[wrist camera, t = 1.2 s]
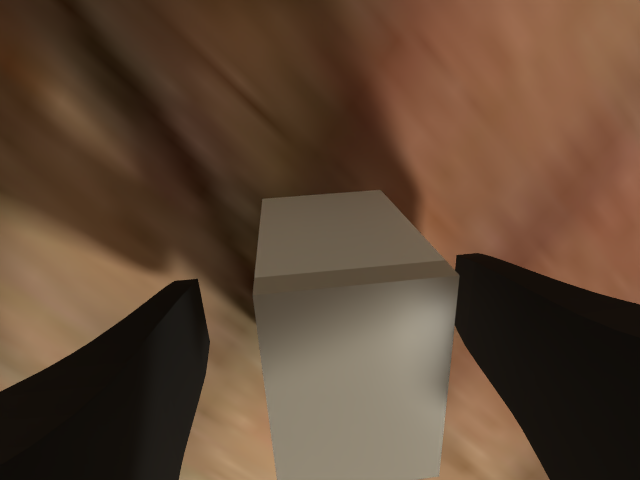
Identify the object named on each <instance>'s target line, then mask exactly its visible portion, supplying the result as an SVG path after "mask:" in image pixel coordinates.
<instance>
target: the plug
mask: <svg viewBox="0 0 640 480" xmlns="http://www.w3.org/2000/svg"><path fill="white" fill-rule="evenodd" d="M459 276H460V275H459V274H458V273H457V272H456V271H455V270H454V269H453V268H452V267H451V266H450V265H449V263H448V262H447V261H446V260H445V259H444V258H443V257H442V256H441V255H440V254H439V253H438V252H437V250H436V249H435V248H434V247H433V246H432V245H431V244H430V243H429V242H428V241H427V240H426V239H425V237H424V236H423V235H422V234H421V233H420V232H419V231H418V230H417V229H416V228H415V227H414V226H413V224H412V223H411V222H410V221H409V220H408V219H407V218H406V217H405V216H404V215H403V214H402V213H401V211H400V210H399V209H398V208H397V207H396V206H395V205H394V204H393V203H392V202H391V201H390V200H389V198H388V197H387V196H386V195H385V194H384V193H383V192H382V191H381V190H371V191H357V192H344V193H331V194H318V195H305V196H292V197H279V198H266V199H262V207H261V217H260V227H259V236H258V246H257V256H256V266H255V276H254V286H253V302H254V310H255V317H256V325H257V332H258V340H259V347H260V355H261V362H262V370H263V378H264V385H265V393H266V400H267V408H268V415H269V423H270V430H271V438H272V445H273V453H274V460H275V468H276V476H277V480H417V479H424V478H431V477H439V471H440V461H441V451H442V441H443V432H444V422H445V412H446V402H447V393H448V383H449V373H450V363H451V354H452V344H453V334H454V325H455V315H456V305H457V295H458V286H459Z"/></svg>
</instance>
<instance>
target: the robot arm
mask: <svg viewBox="0 0 640 480" xmlns="http://www.w3.org/2000/svg"><path fill="white" fill-rule="evenodd" d="M455 271H456V272H457V273H458V274H459V275H460V276H459V286H458V295H457V305H456V315H455V326H456V329H457V331H458V333H459V335H460V337H461V338H462V340H463V342H464V344H465V346H466V347H467V349H468V350H469V352H470V353H471V355H472V356H473V358H474V359H475V361H476V362H477V364H478V365H479V367H480V368H481V369H482V371H483V372H484V374H485V375H486V377H487V378H488V379H489V381H490V382H491V384H492V385H493V387H494V388H495V389H496V391H497V392H498V394H499V395H500V397H501V398H502V399H503V401H504V402H505V404H506V405H507V406H508V408H509V409H510V411H511V412H512V414H513V415H514V417H515V419H516V420H517V422H518V423H519V425H520V426H521V428H522V430H523V432H524V433H525V435H526V437H527V439H528V441H529V442H530V444H531V446H532V448H533V450H534V451H535V453H536V455H537V457H538V459H539V460H540V462H541V464H542V466H543V468H544V470H545V472H546V474H547V475H548V477H549V479H550V480H640V305H639V304H636V303H632V302H628V301H624V300H620V299H616V298H612V297H609V296H605V295H602V294H598V293H595V292H592V291H588V290H585V289H582V288H579V287H576V286H573V285H570V284H567V283H564V282H561V281H558V280H555V279H552V278H550V277H547V276H544V275H541V274H538V273H536V272H533V271H530V270H528V269H525V268H522V267H520V266H517V265H514V264H511V263H509V262H506V261H503V260H500V259H497V258H494V257H491V256H488V255H484V254H479V253H474V254H463V255H457V257H456V268H455ZM209 345H210V340H209V335H208V329H207V324H206V319H205V314H204V309H203V303H202V298H201V293H200V288H199V282H198V279H191V280H180V281H174V282H172V283H171V284H169V285H168V286H166V287H165V288H163V289H162V290H161V291H159V292H158V293H157V294H156V295H154V296H153V297H152V298H150V299H149V300H148V301H147V302H145V303H144V304H143V305H141V306H140V307H139V308H137V309H136V310H135V311H133V312H132V313H131V314H130V315H128V316H127V317H126V318H124V319H123V320H121V321H120V322H119V323H117V324H116V325H114V326H113V327H111V328H110V329H109V330H107V331H106V332H104V333H103V334H101V335H100V336H99V337H97V338H96V339H94V340H93V341H91V342H90V343H88V344H87V345H85V346H83V347H82V348H80V349H79V350H77V351H75V352H74V353H72V354H70V355H69V356H67V357H65V358H64V359H62V360H60V361H58V362H57V363H55V364H53V365H51V366H50V367H48V368H46V369H44V370H42V371H40V372H39V373H37V374H35V375H33V376H31V377H29V378H27V379H25V380H23V381H21V382H19V383H17V384H15V385H13V386H11V387H9V388H7V389H5V390H3V391H1V392H0V480H179V475H180V469H181V465H182V461H183V456H184V452H185V448H186V445H187V441H188V438H189V434H190V430H191V427H192V423H193V419H194V416H195V412H196V409H197V405H198V401H199V398H200V394H201V390H202V386H203V383H204V379H205V375H206V368H207V361H208V353H209Z"/></svg>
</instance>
